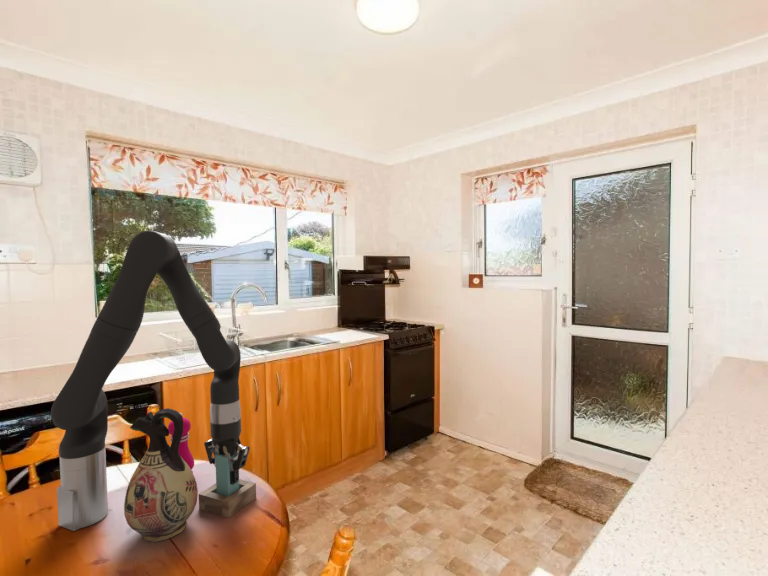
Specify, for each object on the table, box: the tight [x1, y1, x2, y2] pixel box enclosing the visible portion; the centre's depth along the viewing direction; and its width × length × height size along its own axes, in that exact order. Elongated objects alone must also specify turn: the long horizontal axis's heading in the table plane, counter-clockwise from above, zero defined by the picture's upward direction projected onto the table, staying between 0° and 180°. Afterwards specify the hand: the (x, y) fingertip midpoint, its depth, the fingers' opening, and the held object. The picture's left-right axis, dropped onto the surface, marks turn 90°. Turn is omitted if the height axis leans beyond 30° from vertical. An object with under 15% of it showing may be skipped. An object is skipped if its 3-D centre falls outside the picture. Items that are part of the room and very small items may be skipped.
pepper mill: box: [167, 412, 195, 474], centre depth 123 cm, size 7×7×20 cm
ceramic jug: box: [123, 408, 199, 543], centre depth 98 cm, size 17×15×30 cm
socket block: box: [198, 478, 257, 519], centre depth 110 cm, size 10×10×4 cm
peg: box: [215, 454, 239, 497], centre depth 110 cm, size 4×4×12 cm
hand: (227, 481), depth 110 cm, fingers closed on peg, 3 cm apart
